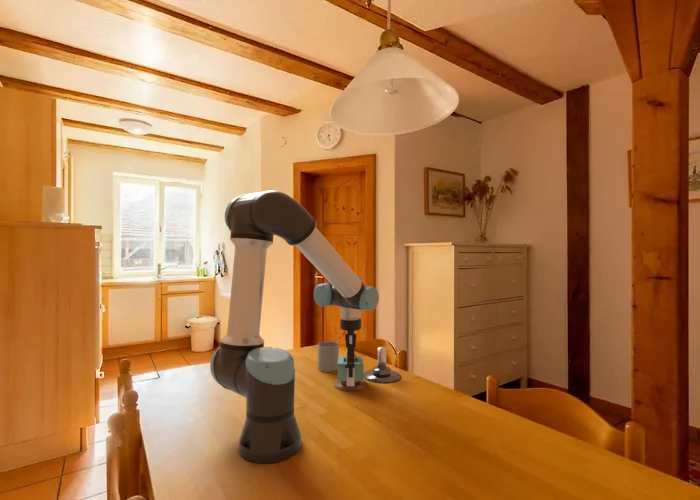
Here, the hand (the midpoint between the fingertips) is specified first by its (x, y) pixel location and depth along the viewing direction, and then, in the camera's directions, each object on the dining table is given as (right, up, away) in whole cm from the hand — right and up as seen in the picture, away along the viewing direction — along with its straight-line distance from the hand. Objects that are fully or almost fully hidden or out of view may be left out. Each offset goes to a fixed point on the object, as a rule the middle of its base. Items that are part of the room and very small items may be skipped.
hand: (350, 380), depth 137 cm
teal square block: (0, +2, 0) cm, 2 cm away
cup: (-9, -1, +18) cm, 20 cm away
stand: (0, -1, 0) cm, 1 cm away
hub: (+12, -1, +9) cm, 15 cm away
